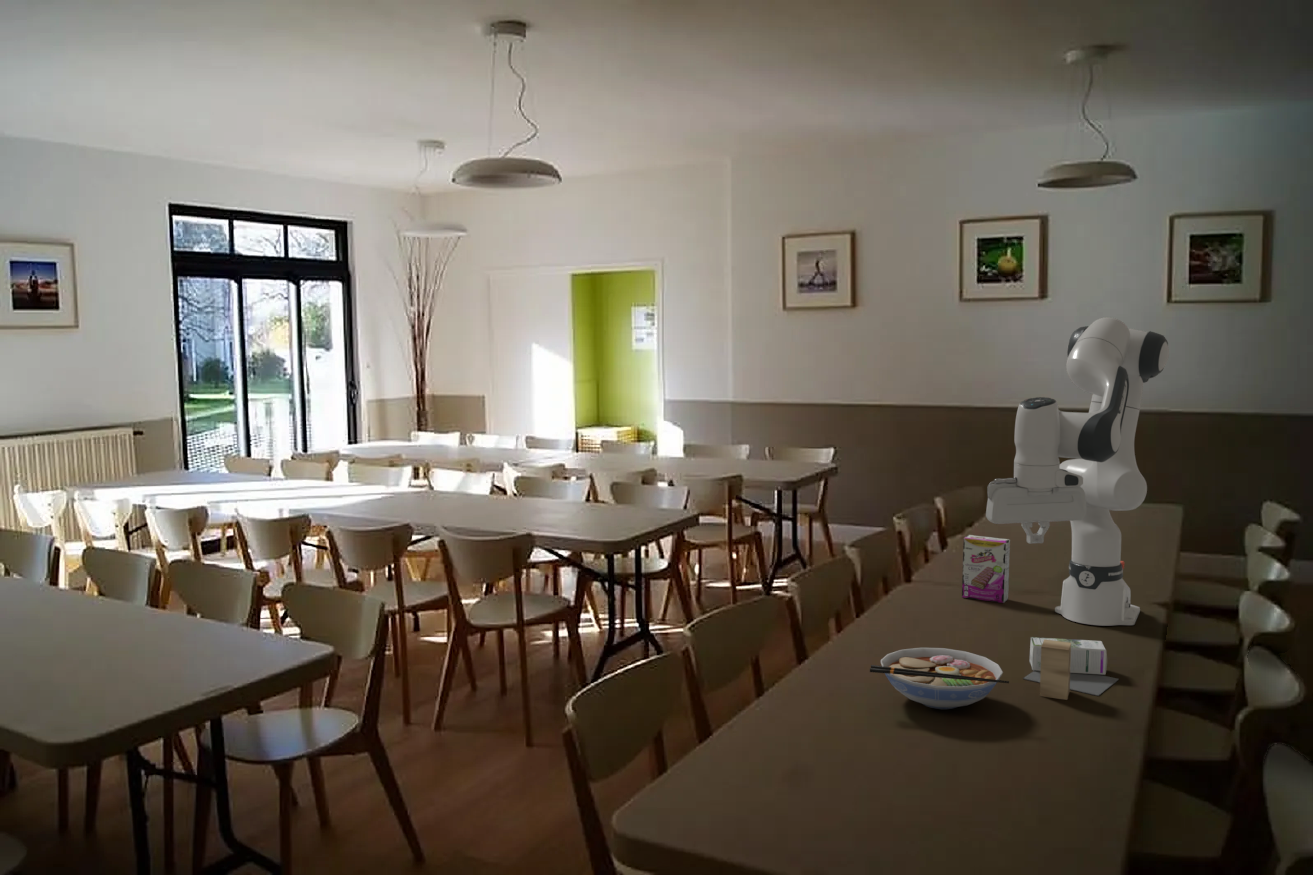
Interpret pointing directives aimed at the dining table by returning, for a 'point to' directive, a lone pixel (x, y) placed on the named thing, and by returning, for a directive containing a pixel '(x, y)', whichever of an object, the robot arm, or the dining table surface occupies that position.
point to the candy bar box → (985, 568)
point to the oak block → (1055, 669)
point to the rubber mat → (1082, 682)
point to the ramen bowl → (940, 676)
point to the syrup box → (1075, 655)
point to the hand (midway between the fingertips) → (1035, 542)
